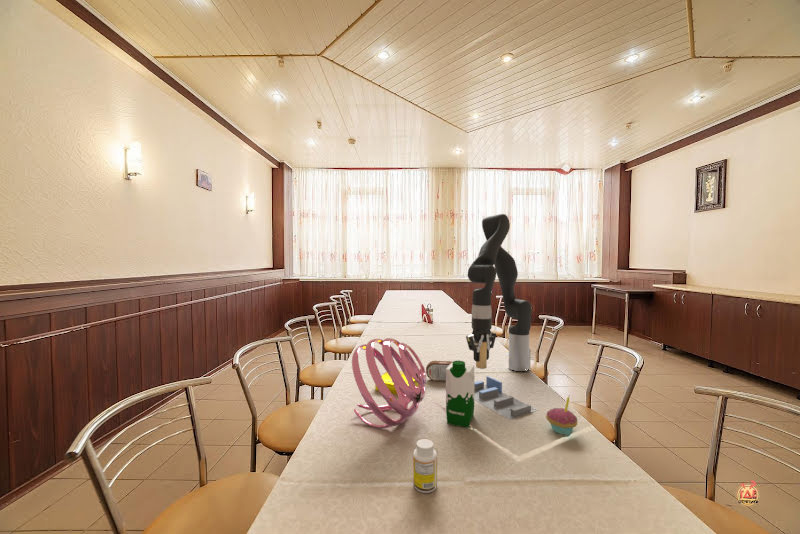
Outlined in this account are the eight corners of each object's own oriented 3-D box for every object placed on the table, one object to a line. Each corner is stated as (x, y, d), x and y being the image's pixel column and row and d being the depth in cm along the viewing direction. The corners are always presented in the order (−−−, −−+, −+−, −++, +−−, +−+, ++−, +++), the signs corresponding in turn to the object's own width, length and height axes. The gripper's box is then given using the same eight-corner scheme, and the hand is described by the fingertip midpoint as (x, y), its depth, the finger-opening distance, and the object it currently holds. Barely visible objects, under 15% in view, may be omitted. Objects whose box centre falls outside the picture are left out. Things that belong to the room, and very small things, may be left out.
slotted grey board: (485, 386, 136) (485, 374, 136) (538, 412, 113) (538, 398, 113) (458, 393, 129) (458, 381, 129) (509, 422, 106) (509, 407, 106)
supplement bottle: (422, 474, 81) (422, 434, 81) (441, 484, 78) (441, 442, 77) (408, 487, 77) (408, 444, 77) (427, 498, 73) (427, 453, 73)
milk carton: (443, 424, 106) (443, 362, 105) (451, 412, 114) (451, 355, 113) (470, 430, 102) (470, 366, 101) (476, 417, 110) (476, 358, 110)
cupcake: (574, 428, 103) (575, 390, 102) (579, 443, 95) (580, 402, 94) (544, 424, 106) (545, 387, 105) (547, 437, 98) (547, 398, 97)
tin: (460, 380, 144) (460, 360, 143) (461, 382, 140) (461, 363, 140) (426, 378, 145) (425, 360, 145) (425, 381, 142) (425, 362, 142)
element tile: (373, 391, 133) (373, 379, 132) (389, 378, 146) (389, 368, 146) (407, 397, 126) (407, 385, 126) (421, 384, 140) (421, 372, 140)
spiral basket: (311, 366, 104) (381, 320, 99) (353, 361, 129) (409, 324, 125) (349, 455, 94) (428, 409, 89) (385, 431, 119) (448, 394, 115)
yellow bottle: (481, 364, 130) (481, 334, 130) (488, 367, 127) (489, 336, 126) (473, 366, 128) (474, 335, 128) (480, 369, 125) (481, 338, 124)
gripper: (488, 313, 134) (488, 355, 134) (460, 316, 127) (460, 360, 127) (502, 316, 127) (501, 360, 128) (474, 319, 120) (473, 366, 121)
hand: (481, 360), depth 127 cm, fingers closed on yellow bottle, 4 cm apart
